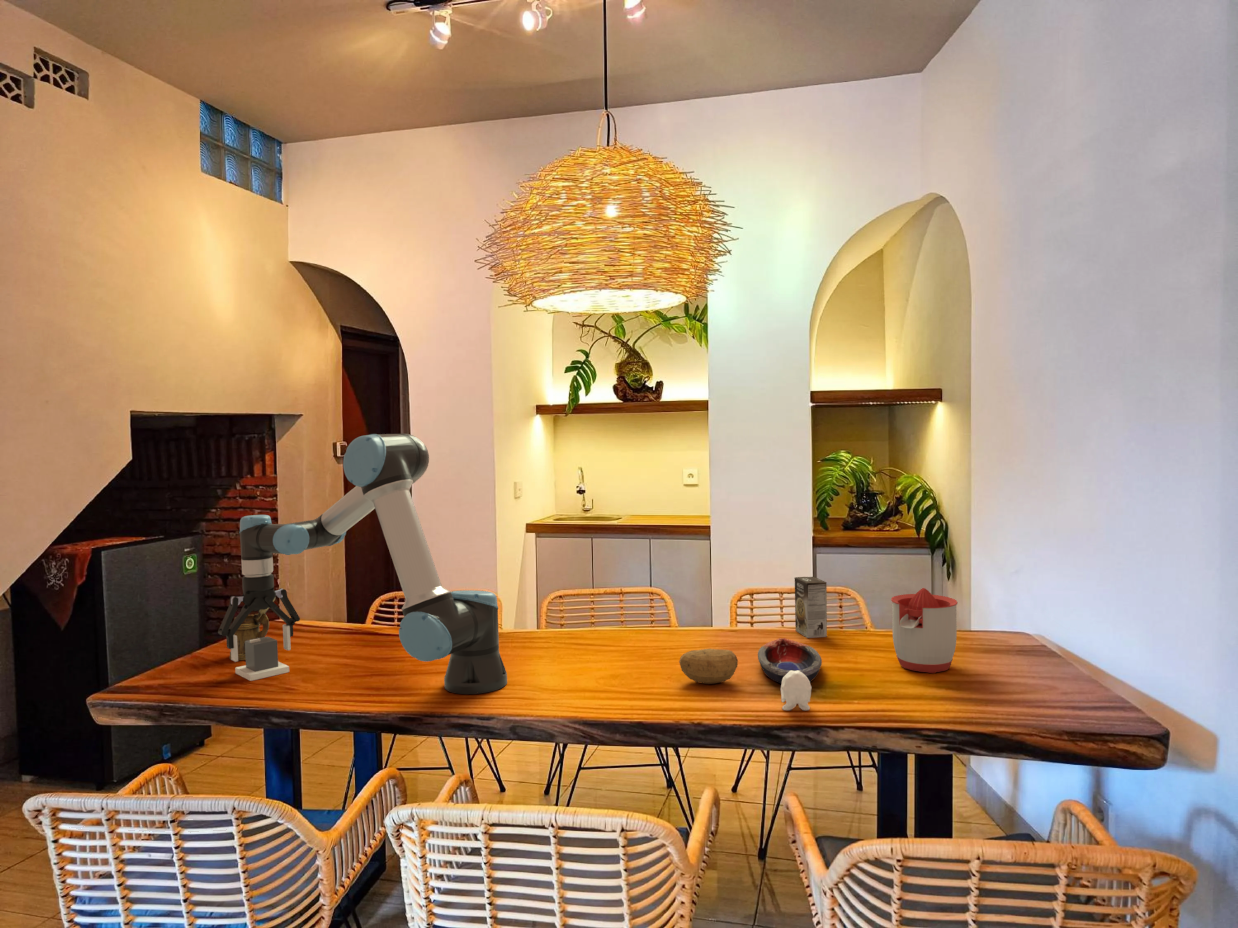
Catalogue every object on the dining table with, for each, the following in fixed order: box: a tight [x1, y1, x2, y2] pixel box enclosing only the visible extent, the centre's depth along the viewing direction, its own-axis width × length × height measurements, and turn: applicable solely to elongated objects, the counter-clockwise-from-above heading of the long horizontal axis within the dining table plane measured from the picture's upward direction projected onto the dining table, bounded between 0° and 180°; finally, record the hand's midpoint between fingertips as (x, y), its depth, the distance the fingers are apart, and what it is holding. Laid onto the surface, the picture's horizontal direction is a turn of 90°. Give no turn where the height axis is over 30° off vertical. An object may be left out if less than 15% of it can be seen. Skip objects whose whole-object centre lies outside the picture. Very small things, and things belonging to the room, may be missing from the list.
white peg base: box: [234, 661, 290, 682], centre depth 217 cm, size 10×10×6 cm
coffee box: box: [794, 576, 828, 639], centre depth 242 cm, size 9×6×16 cm
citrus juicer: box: [890, 587, 958, 674], centre depth 206 cm, size 16×17×20 cm
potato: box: [678, 648, 739, 685], centre depth 199 cm, size 10×14×8 cm
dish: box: [757, 637, 823, 684], centre depth 207 cm, size 16×31×5 cm, turn 171°
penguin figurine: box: [780, 670, 812, 711], centre depth 182 cm, size 6×8×12 cm
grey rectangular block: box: [245, 636, 279, 672], centre depth 217 cm, size 6×6×8 cm
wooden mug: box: [229, 596, 277, 661], centre depth 233 cm, size 9×14×18 cm, turn 84°
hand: (261, 654), depth 217 cm, fingers open, 13 cm apart
